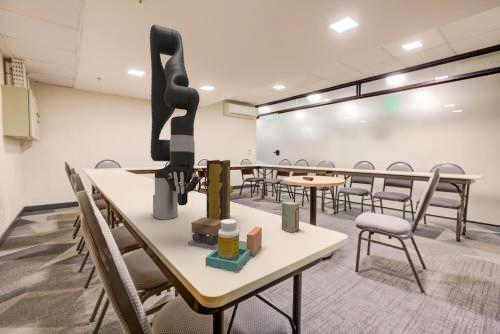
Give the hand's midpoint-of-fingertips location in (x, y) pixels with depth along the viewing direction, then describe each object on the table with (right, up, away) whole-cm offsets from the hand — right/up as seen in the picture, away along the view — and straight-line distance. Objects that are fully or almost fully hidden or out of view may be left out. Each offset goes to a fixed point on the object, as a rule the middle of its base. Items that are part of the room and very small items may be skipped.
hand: (182, 204), depth 71 cm
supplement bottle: (+16, -12, -14) cm, 24 cm away
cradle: (+16, -12, -14) cm, 24 cm away
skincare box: (+36, -11, +10) cm, 39 cm away
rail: (+14, -11, -5) cm, 19 cm away
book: (+10, -11, +16) cm, 22 cm away
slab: (+9, -10, -3) cm, 14 cm away
